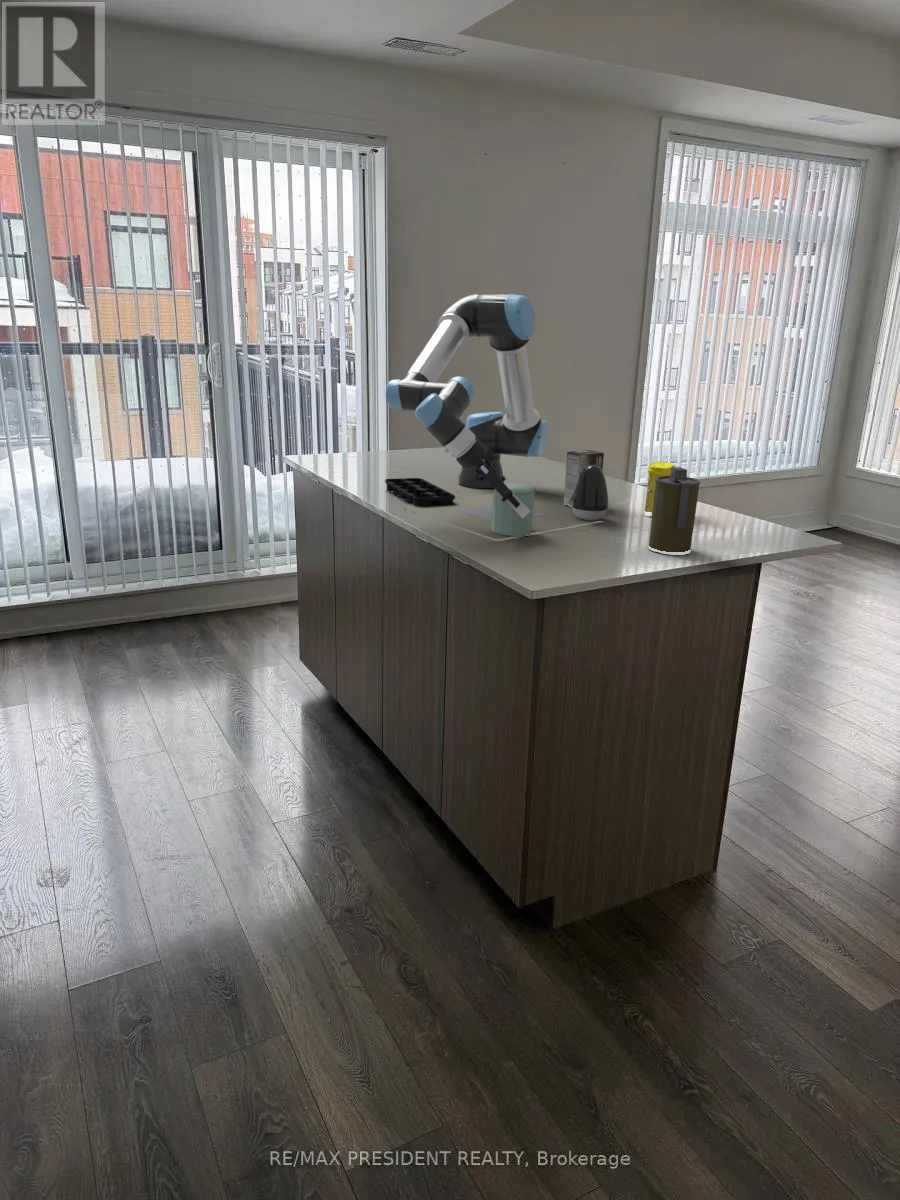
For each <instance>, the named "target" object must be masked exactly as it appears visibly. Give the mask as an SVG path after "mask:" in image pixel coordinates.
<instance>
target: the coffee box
mask: <svg viewBox="0 0 900 1200" xmlns="http://www.w3.org/2000/svg"><path fill="white" fill-rule="evenodd" d="M604 455H605V453H604V452H603V451H602V452H601V451H598V450H597V451H595V450H592V449H586V450H585V449H584V450H573V451H571V450H570V451H567V452H566V466H565V478H564V493H563V494H564V495H563V504H564V503H565V504H569V505H571V502H572V497H573V493H574V490H575V487H576V484H577V481H578V479H579V476H580V475H581V473H582V471H583V470H584V469H585V468H586V467H587V466H589V465H597V466H598V467H600V468H601V470H602V471H604V470H603V469H604V467H603V466H604V459H605V458H604Z"/></svg>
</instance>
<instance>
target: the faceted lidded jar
mask: <svg viewBox="0 0 900 1200" xmlns="http://www.w3.org/2000/svg"><path fill="white" fill-rule="evenodd" d="M504 484H505V485H506V486H507V487H508V488H509V489H510V490H511V491H512V492H513V493H514V494H515V495H516V496H517V497H518V498H519V499H520V500H521V501H522V502H523V503H524V505H525V506H526V507H527V508H528V509H529V510H530V511H531V512H529V513H528V514H527V515H526V516H525V517H524V518H523V519H522V518H521V517H520V515H519V514H518V513H517V512H516V511H515V510H514V509H513V508H512V507H511V506H510V505H509V504H508V503H507V502H506V501H504V502H503V501H502V500H501V499H502V498H503V497H502V496H501V495H500V494H499V493H498V491H497V490H496V489H495V488H493V496H492V497H493V498H492V499H493V501H492V504H493V515H492V521H491V530H492V531H493V533H496V534H499V535H502V536H503V535H504V536H509V537H521V536H527V535H530V534H531V533H533V520H534V517H533V512H534V506H535V493H536V492H535V486H533V485H530V484H527V483H519V482H506V483H504ZM506 492H507V491H506ZM506 492H505V493H506ZM505 493H504V494H505ZM531 535H532V534H531ZM531 535H530V536H531Z"/></svg>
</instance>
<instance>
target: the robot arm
mask: <svg viewBox="0 0 900 1200" xmlns="http://www.w3.org/2000/svg"><path fill="white" fill-rule="evenodd" d="M535 321H536V313H535V308H534V305H533V303H532V301H531V300H530V299H529V298H528V297H527V296H525V295H521V294H515V293H510V294H503V293H502V294H501V293H500V294H498V293H497V294H494V293H473V294H468V295H466V296H464V297H462V298H460V299H458V300H457V301H455V302H454V303H453V304H452V305H451V306H449V307H448V308H447V309H446V310H445V311H444V312H443V313H442V315H441V316H440V317H439V318H438V321H437V323H436V325H437V326H436V327H437V329H436V330H434V333H433V335H432V336H431V337H430V339H429V341H428V342H427V343H426V345H425V346H424V348H423V349H422V351H421V352H420V353H419V355H418V356H417V358H416V360H415V361H414V362H413V364H412V365H411V366H410V368H409V370H408V371H407V372H406V374H405V375H404V377H403V379H401V378H397V379H392V380H389V382H388V383H387V385H386V388H385V400H386V403H387V406H388V407H389V408H391V409H394V410H401V411H409V412H410V411H412V412H414V417H415V418H417V420H418V421H419V422H420V423H421V425H422V426H423V428H425V429H426V431H428V432H429V433H430V434H431V435H432V436H433V437H434V438H435V439H436V440H437V441H438V442H439V443H440V445H441V446H443V447H444V448H445V450H444V453H446V454H448V453H449V454H450V455H451V456H452V457H453V458H455V459H456V462H457V463H458V464H459V465H460V466H461V470H460V473H459V475H458V481H457V482H458V485H460V486H463V487H466V488H472V489H473V488H474V489H496V490H497V491H498V493H499V494H500V495H501V496H502V497H503V498H502V499H501V500H502V501H503V502H504V501H506V502H507V503H508V504H509V505H510V506H511V507H512V508H513V509H514V510H515V511H516V512H517V513H518V514H519V515H520V517H521V518H522V519H523V518H524V517H525V516H526V515H527V514H528V513H529V512H531V511H530V510H529V509H528V508H527V507H526V506H525V505H524V503H523V502H522V501H521V500H520V499H519V498H518V497H517V496H516V495H515V494H514V493H513V492H512V491H511V490H510V489H509V488H508V487H507V486H506V485H505V484H504V483H507V482H506V480H507V478H506V477H505V475H504V472H503V468H502V463H501V455H508V456H515V457H525V458H539V457H540V456H541V455H542V453H543V452H544V449H545V448H546V443H547V441H548V434H549V423H548V421H546V420H544V419H542V420H541V415H540V413H539V411H538V410H537V409H535V407H534V400H533V391H532V385H531V377H530V375H531V374H530V370H529V369H530V368H529V361H528V354H527V348H526V346H527V345H528V344H529V343H530V339H531V338H532V337H533V336H534V333H535V330H536V323H535ZM476 337H477V338H488V341H489V342H488V343H489V347H490V348H491V349H492V350H493V351H495V352H496V358H497V364H498V370H499V375H500V377H499V378H500V382H501V388H502V389H501V390H502V395H503V401H504V407H505V414H503V412H502V411H489V412H479V413H473V414H472V413H471V414H470V415H468V416H467V418H466V422H465V423H466V424H464V422H463V421H462V420H461V418H460V417H461V416H462V414H464V412H465V410H466V409H467V408H468V407H469V406H470V405H471V402H472V399H473V397H474V394H475V389H474V386H473V385H472V383H471V382H470V381H469V380H468V379H467V378H466V377H463V376H458V375H457V376H454V377H452V378H451V379H449V380H447V382H437V380H438V379H439V378H440V376H441V374H442V373H443V371H444V370H445V368H446V367H447V364H449V362H450V361H451V359H452V358H453V356H454V354H455V353H456V351H457V349H458V347H460V345H463V344H465V343H466V342H467V341H468V339H471V338H476ZM506 491H507V492H506ZM505 492H506V493H505ZM504 493H505V494H504Z"/></svg>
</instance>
